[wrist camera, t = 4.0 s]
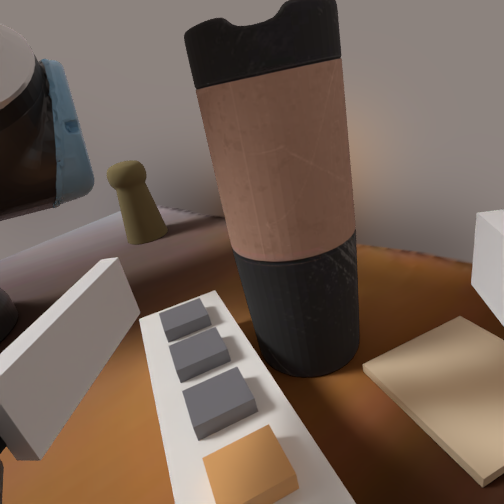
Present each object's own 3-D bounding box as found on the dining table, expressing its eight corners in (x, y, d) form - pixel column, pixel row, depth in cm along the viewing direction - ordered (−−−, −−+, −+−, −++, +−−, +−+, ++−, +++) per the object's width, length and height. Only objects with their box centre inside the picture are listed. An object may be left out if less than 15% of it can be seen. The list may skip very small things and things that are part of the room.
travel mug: (304, 298, 31) (263, 31, 22) (386, 332, 25) (373, -9, 16) (236, 347, 27) (153, 44, 18) (314, 401, 21) (248, -3, 12)
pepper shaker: (176, 229, 53) (153, 155, 49) (143, 246, 49) (115, 168, 45) (152, 225, 57) (128, 157, 52) (120, 241, 53) (91, 169, 48)
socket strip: (153, 355, 28) (134, 309, 26) (225, 325, 29) (212, 280, 27) (224, 664, 12) (189, 604, 10) (368, 565, 14) (361, 499, 12)
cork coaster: (363, 371, 22) (362, 364, 22) (459, 322, 24) (460, 315, 24) (482, 487, 15) (483, 478, 15) (602, 405, 17) (605, 396, 17)
